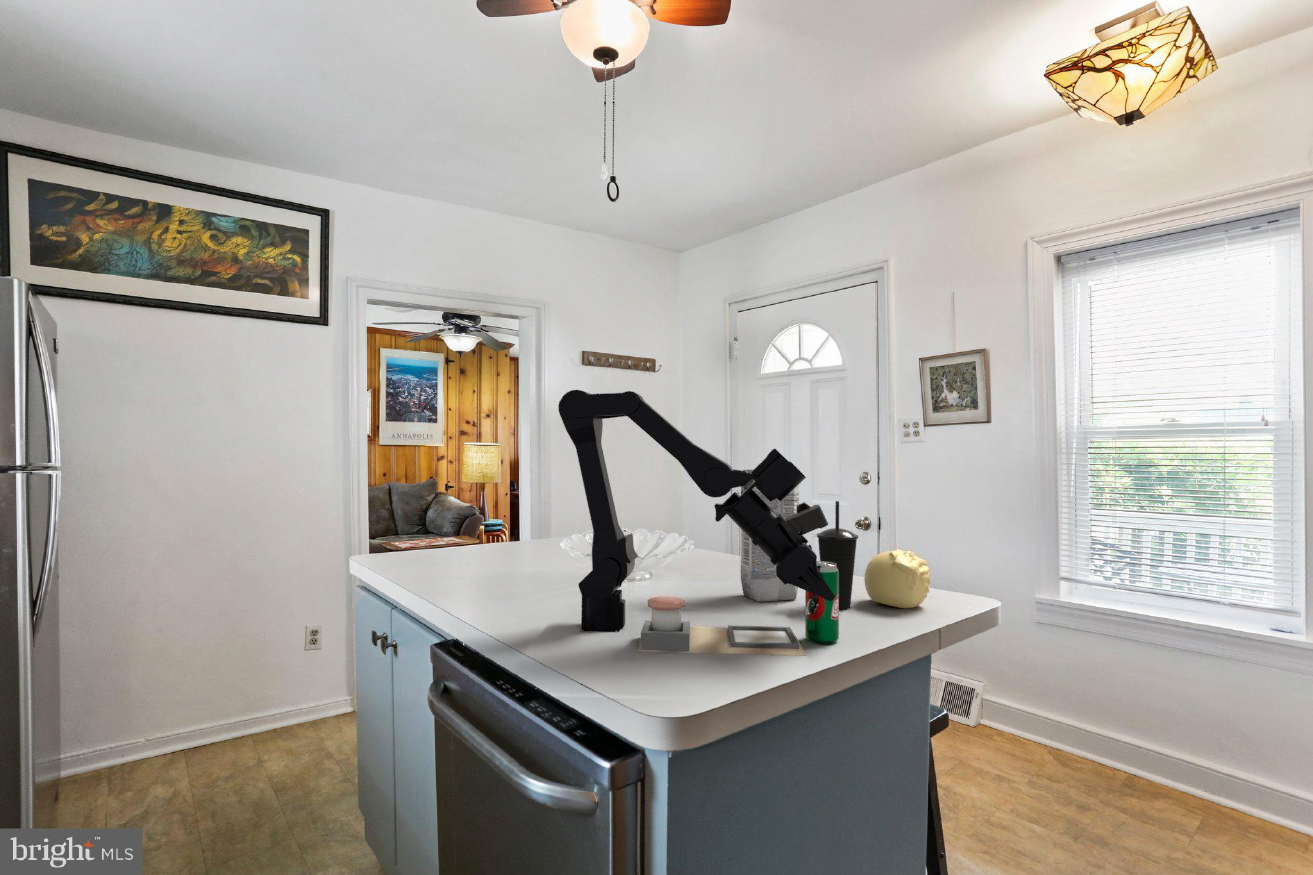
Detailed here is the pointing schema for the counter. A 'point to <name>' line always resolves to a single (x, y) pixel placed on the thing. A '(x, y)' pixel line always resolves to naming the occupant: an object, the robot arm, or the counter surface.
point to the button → (666, 613)
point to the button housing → (665, 638)
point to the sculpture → (897, 579)
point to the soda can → (823, 608)
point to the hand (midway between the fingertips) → (831, 595)
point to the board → (742, 641)
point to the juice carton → (765, 557)
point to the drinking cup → (840, 556)
